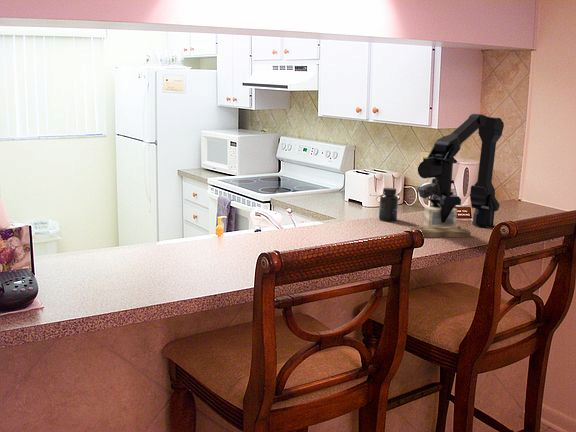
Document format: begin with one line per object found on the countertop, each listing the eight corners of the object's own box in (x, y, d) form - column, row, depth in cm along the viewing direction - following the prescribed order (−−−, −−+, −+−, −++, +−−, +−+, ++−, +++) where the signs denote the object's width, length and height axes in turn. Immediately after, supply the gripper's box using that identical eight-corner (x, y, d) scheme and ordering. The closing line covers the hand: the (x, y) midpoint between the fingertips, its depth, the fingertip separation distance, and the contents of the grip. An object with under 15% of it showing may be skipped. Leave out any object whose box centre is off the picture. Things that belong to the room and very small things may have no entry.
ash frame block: (450, 223, 239) (451, 207, 237) (456, 226, 234) (457, 209, 233) (423, 224, 237) (424, 207, 236) (428, 226, 232) (429, 209, 231)
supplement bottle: (398, 221, 253) (400, 190, 251) (379, 221, 253) (381, 189, 251) (395, 218, 260) (397, 187, 258) (377, 217, 260) (379, 186, 258)
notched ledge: (458, 230, 242) (458, 223, 241) (470, 236, 232) (470, 229, 232) (410, 230, 239) (410, 223, 238) (420, 237, 229) (420, 230, 229)
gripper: (411, 172, 240) (408, 215, 243) (431, 180, 222) (428, 227, 225) (441, 172, 242) (438, 215, 245) (463, 180, 224) (459, 226, 227)
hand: (440, 221), depth 235 cm, fingers closed on ash frame block, 5 cm apart
